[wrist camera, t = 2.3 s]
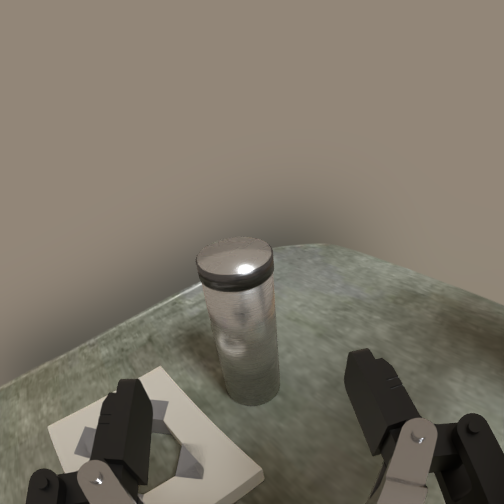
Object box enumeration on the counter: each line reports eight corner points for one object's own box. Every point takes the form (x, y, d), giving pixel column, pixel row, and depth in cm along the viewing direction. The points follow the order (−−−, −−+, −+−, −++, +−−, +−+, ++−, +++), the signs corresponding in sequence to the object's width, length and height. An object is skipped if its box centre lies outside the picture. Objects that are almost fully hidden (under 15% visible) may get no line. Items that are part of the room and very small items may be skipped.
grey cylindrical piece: (255, 356, 31) (238, 230, 25) (292, 383, 28) (289, 250, 21) (214, 384, 28) (181, 256, 22) (251, 416, 25) (226, 284, 18)
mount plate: (167, 382, 29) (160, 365, 28) (264, 479, 19) (262, 468, 18) (60, 440, 22) (47, 426, 21) (127, 564, 12) (112, 559, 11)
